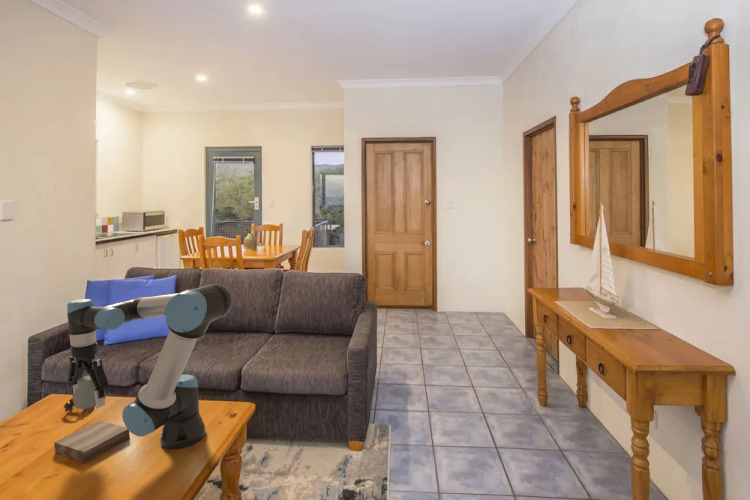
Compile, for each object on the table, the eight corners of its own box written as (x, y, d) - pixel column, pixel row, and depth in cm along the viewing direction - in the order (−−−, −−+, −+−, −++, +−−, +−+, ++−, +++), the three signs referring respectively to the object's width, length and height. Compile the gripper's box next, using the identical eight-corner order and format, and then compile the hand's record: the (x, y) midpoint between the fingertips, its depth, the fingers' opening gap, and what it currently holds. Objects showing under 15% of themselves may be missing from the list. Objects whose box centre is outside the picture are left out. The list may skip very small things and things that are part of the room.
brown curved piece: (86, 417, 169) (72, 403, 166) (69, 425, 171) (55, 411, 168) (105, 397, 180) (92, 383, 178) (89, 405, 182) (76, 391, 180)
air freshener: (72, 405, 146) (69, 378, 145) (99, 396, 152) (96, 370, 152) (79, 414, 139) (77, 386, 138) (108, 405, 145) (105, 378, 144)
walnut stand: (129, 438, 152) (128, 428, 151) (85, 463, 137) (83, 452, 137) (101, 430, 158) (100, 420, 157) (55, 453, 143) (54, 442, 143)
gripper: (116, 343, 143) (122, 404, 145) (74, 337, 152) (79, 394, 154) (95, 350, 136) (101, 414, 138) (51, 343, 145) (57, 403, 147)
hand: (89, 403), depth 146 cm, fingers closed on air freshener, 11 cm apart
